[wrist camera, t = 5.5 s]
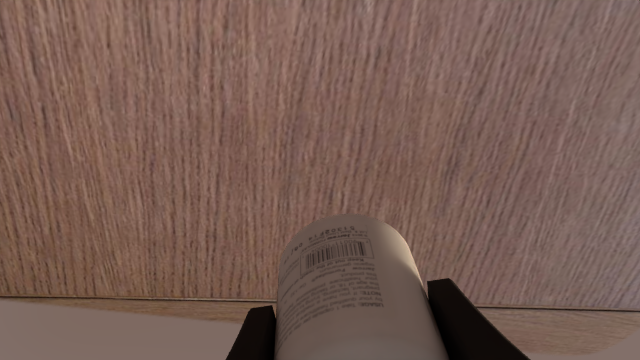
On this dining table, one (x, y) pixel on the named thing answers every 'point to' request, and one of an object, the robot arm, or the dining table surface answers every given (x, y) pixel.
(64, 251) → the dining table surface
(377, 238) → the pill bottle
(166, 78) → the dining table surface
